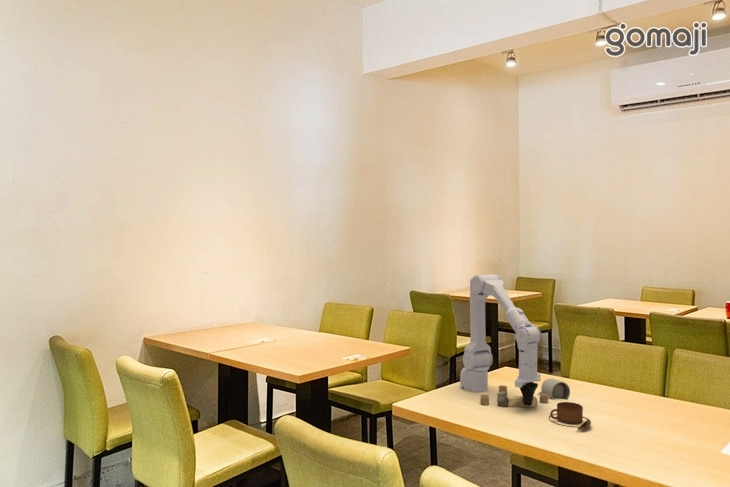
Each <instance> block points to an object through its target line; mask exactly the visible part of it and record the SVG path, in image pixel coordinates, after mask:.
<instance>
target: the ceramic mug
mask: <svg viewBox="0 0 730 487" xmlns="http://www.w3.org/2000/svg"><path fill="white" fill-rule="evenodd" d="M569 386H570V385H569V384H568V383H566V382H565V381H562V380H559V379H554V378H547V379H545V380H544V381H543V382H542V383H541V391H540V392H538V393H537V394H536V396H540V393H547V394H548V400H554V399H561V400H567V401H568V400H569V397H570V395H571V389H570V388H571V387H569Z"/></svg>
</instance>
